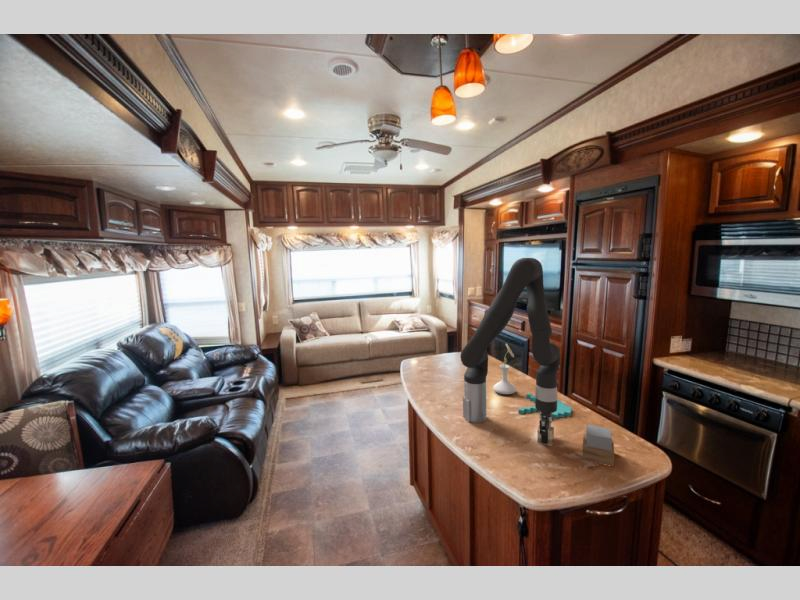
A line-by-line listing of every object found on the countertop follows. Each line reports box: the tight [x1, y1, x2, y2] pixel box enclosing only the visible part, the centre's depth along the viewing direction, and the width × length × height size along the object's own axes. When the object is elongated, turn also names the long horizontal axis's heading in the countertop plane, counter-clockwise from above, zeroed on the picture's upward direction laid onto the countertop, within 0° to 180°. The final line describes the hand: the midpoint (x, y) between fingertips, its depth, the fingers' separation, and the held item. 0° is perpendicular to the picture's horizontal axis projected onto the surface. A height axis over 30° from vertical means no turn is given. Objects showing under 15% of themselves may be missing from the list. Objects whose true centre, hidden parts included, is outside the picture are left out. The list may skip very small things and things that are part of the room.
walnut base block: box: [581, 433, 615, 468], centre depth 112 cm, size 9×9×5 cm
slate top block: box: [585, 424, 613, 451], centre depth 111 cm, size 7×7×4 cm
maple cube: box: [536, 424, 555, 447], centre depth 122 cm, size 5×5×5 cm
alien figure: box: [517, 392, 572, 420], centre depth 147 cm, size 20×2×20 cm
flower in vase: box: [492, 343, 517, 395], centre depth 166 cm, size 13×11×25 cm
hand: (545, 439), depth 122 cm, fingers closed on maple cube, 5 cm apart
